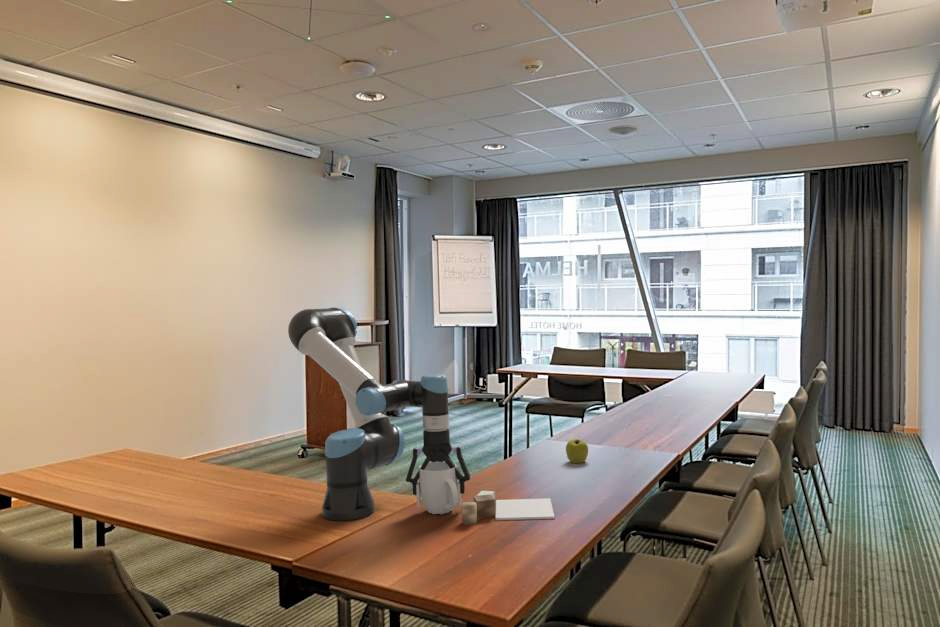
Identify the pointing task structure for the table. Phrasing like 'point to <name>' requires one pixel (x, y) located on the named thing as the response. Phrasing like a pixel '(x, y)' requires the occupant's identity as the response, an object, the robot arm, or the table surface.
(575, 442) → the apple
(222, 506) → the table surface
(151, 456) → the table surface
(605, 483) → the table surface
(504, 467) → the table surface
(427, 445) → the robot arm
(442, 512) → the mug
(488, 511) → the walnut block
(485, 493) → the sage block
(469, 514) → the beech cylinder
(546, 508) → the pad
